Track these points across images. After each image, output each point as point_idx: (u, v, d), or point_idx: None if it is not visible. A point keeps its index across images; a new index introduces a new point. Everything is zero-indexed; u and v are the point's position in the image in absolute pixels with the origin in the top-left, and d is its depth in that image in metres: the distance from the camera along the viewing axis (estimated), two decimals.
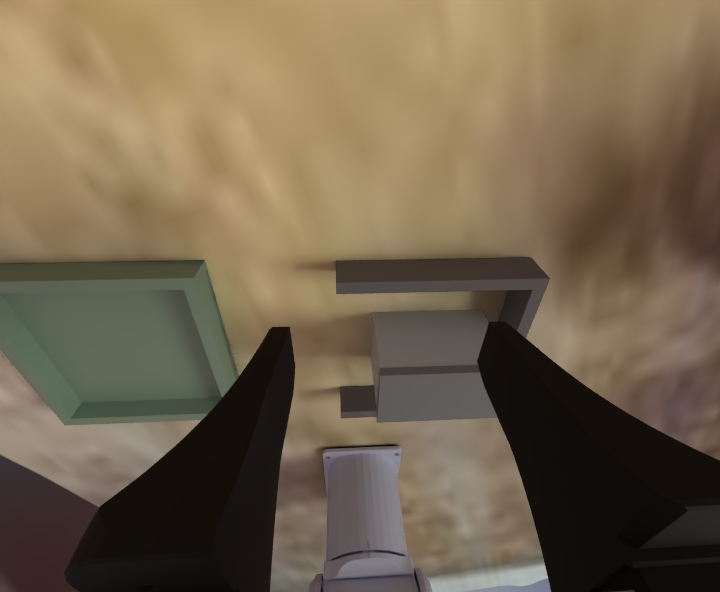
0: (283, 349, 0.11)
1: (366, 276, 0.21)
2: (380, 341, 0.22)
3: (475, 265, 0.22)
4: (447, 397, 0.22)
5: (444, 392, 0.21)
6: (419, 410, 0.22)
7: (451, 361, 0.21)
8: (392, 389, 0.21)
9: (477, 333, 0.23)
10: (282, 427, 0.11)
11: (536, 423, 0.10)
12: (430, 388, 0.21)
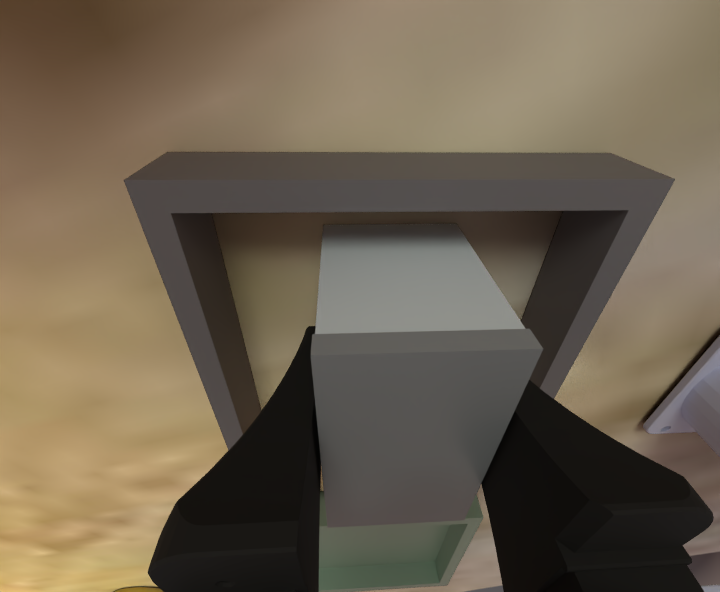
0: None
1: None
2: None
3: None
4: (407, 455, 0.09)
5: (387, 461, 0.09)
6: (443, 483, 0.10)
7: None
8: (366, 515, 0.11)
9: None
10: None
11: None
12: (371, 479, 0.10)
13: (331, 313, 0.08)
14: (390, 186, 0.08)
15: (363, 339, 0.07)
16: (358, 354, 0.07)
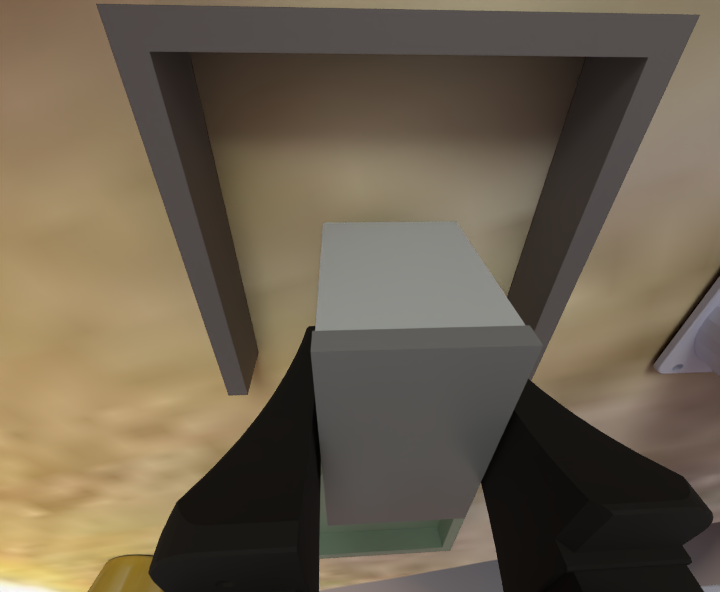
0: None
1: None
2: None
3: None
4: (407, 452, 0.09)
5: (387, 459, 0.09)
6: (443, 481, 0.10)
7: None
8: (366, 513, 0.11)
9: None
10: None
11: None
12: (371, 477, 0.10)
13: (331, 310, 0.08)
14: (388, 19, 0.08)
15: (362, 336, 0.07)
16: (358, 351, 0.07)
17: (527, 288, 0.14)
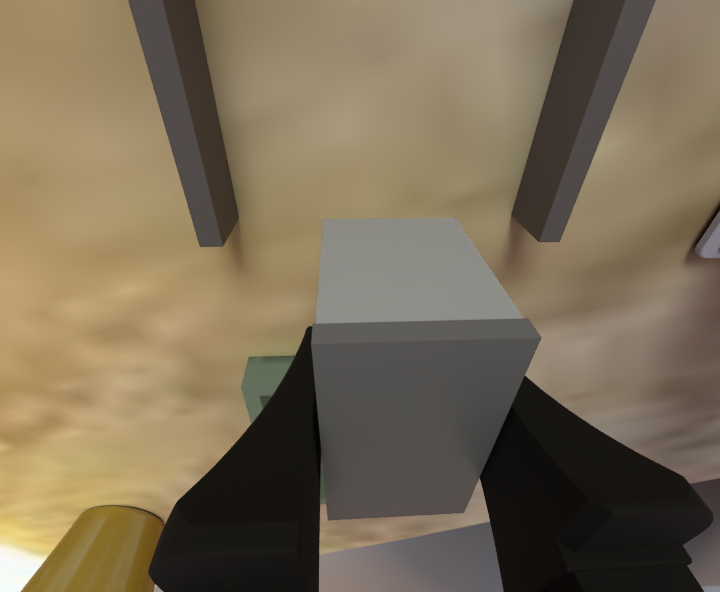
0: None
1: None
2: None
3: None
4: (407, 446, 0.09)
5: (387, 452, 0.09)
6: (443, 474, 0.10)
7: None
8: (366, 507, 0.11)
9: None
10: None
11: None
12: (371, 471, 0.10)
13: (331, 304, 0.08)
14: None
15: (362, 329, 0.07)
16: (358, 343, 0.07)
17: (561, 106, 0.11)
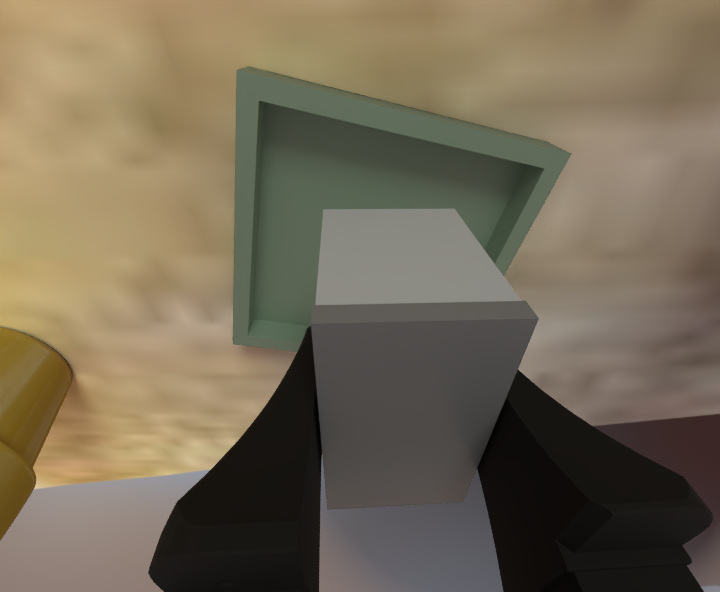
0: None
1: None
2: None
3: None
4: (406, 431, 0.09)
5: (386, 438, 0.09)
6: (442, 462, 0.10)
7: None
8: (366, 496, 0.11)
9: None
10: None
11: None
12: (370, 457, 0.10)
13: (331, 288, 0.08)
14: None
15: (362, 310, 0.07)
16: (357, 323, 0.07)
17: None
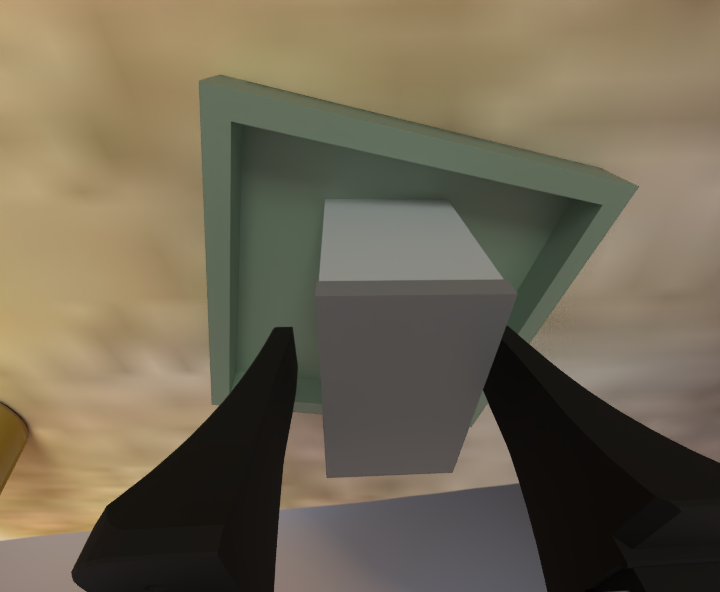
0: (286, 349, 0.11)
1: None
2: None
3: None
4: (399, 400, 0.10)
5: (381, 407, 0.10)
6: (433, 431, 0.11)
7: None
8: (362, 465, 0.12)
9: None
10: (285, 427, 0.11)
11: (532, 423, 0.10)
12: (367, 426, 0.11)
13: (333, 267, 0.09)
14: None
15: (360, 285, 0.08)
16: (356, 296, 0.08)
17: None
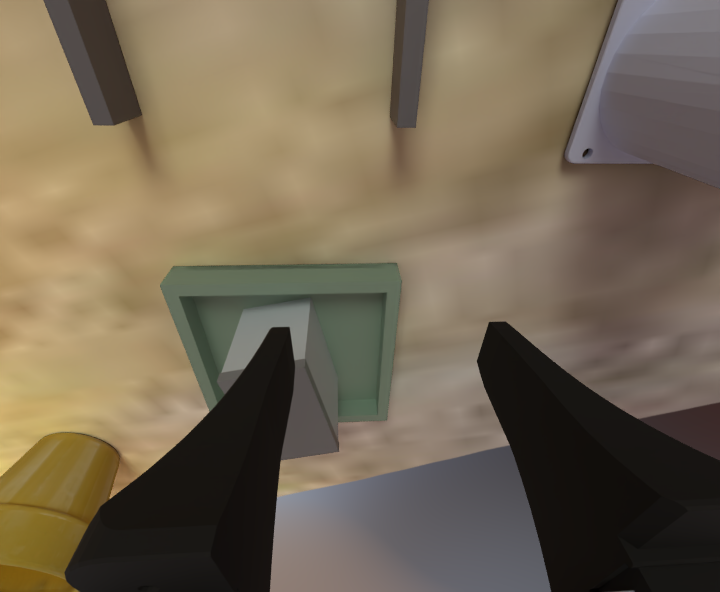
0: (283, 349, 0.11)
1: None
2: None
3: None
4: None
5: None
6: (310, 430, 0.21)
7: None
8: (284, 452, 0.22)
9: None
10: (282, 427, 0.11)
11: (536, 423, 0.10)
12: None
13: (230, 362, 0.19)
14: None
15: (237, 372, 0.18)
16: (234, 379, 0.18)
17: None
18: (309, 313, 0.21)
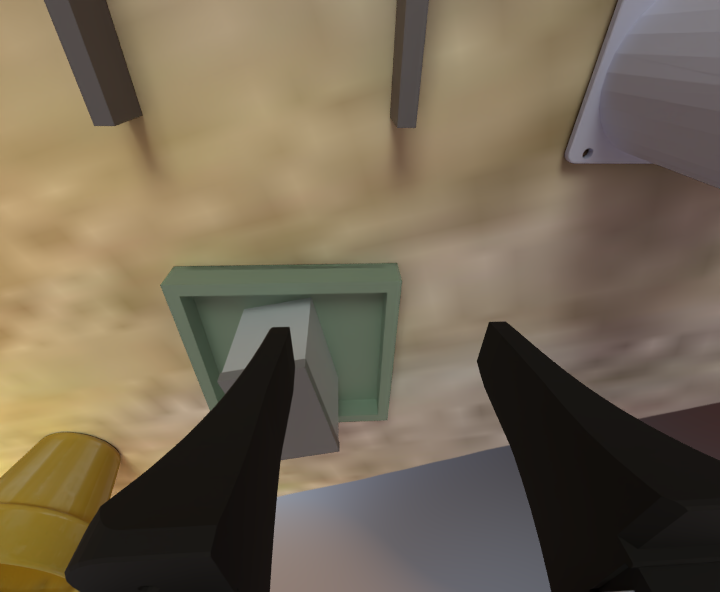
0: (283, 349, 0.11)
1: None
2: None
3: None
4: None
5: None
6: (311, 430, 0.21)
7: None
8: (285, 452, 0.22)
9: None
10: (282, 427, 0.11)
11: (536, 423, 0.10)
12: None
13: (231, 362, 0.19)
14: None
15: (238, 372, 0.18)
16: (235, 379, 0.18)
17: None
18: (309, 313, 0.21)
